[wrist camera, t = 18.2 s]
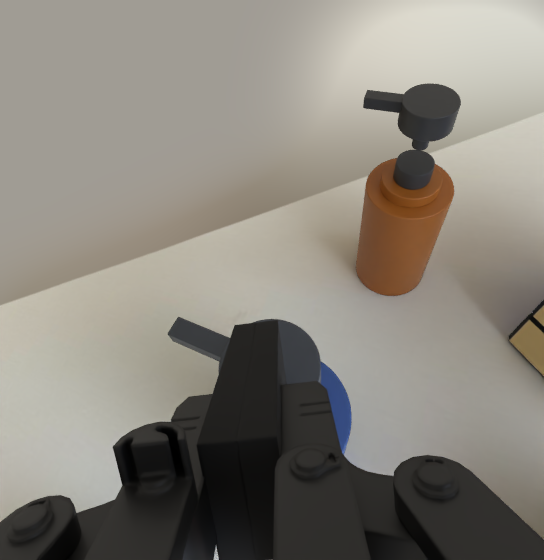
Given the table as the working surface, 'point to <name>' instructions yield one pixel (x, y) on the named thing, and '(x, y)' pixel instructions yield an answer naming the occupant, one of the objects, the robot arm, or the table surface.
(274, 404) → the robot arm
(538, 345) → the puzzle cube
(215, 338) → the grey pump nozzle
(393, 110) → the dark grey pump top
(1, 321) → the table surface
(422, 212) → the amber bottle
